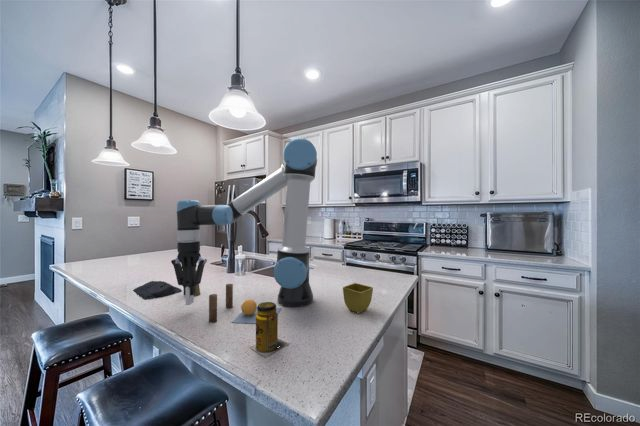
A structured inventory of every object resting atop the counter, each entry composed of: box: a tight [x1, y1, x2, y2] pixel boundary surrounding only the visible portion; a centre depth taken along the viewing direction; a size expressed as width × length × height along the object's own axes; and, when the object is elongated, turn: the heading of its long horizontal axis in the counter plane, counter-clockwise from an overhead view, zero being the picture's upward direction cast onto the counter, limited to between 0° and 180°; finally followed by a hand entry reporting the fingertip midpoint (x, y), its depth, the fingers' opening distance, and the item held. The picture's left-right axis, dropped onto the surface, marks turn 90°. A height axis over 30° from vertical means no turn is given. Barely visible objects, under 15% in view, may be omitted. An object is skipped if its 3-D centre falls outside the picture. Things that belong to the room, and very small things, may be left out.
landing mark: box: [231, 307, 282, 325], centre depth 90 cm, size 14×14×1 cm
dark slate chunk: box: [132, 280, 183, 301], centre depth 117 cm, size 15×22×5 cm
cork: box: [194, 269, 201, 298], centre depth 112 cm, size 6×6×11 cm
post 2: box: [225, 283, 234, 309], centre depth 98 cm, size 3×3×9 cm
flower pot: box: [342, 282, 374, 314], centre depth 96 cm, size 9×9×9 cm
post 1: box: [208, 293, 218, 324], centre depth 85 cm, size 3×3×9 cm
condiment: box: [249, 301, 290, 358], centre depth 70 cm, size 7×8×12 cm
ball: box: [240, 299, 258, 315], centre depth 91 cm, size 6×6×6 cm
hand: (189, 303), depth 93 cm, fingers closed
